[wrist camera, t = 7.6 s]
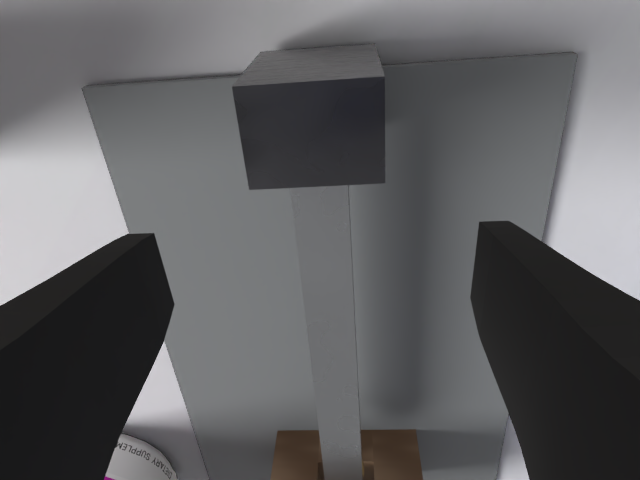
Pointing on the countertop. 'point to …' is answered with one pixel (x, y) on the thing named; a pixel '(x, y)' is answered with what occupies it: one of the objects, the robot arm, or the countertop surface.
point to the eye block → (377, 454)
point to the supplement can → (138, 462)
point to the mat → (367, 253)
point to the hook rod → (320, 204)
